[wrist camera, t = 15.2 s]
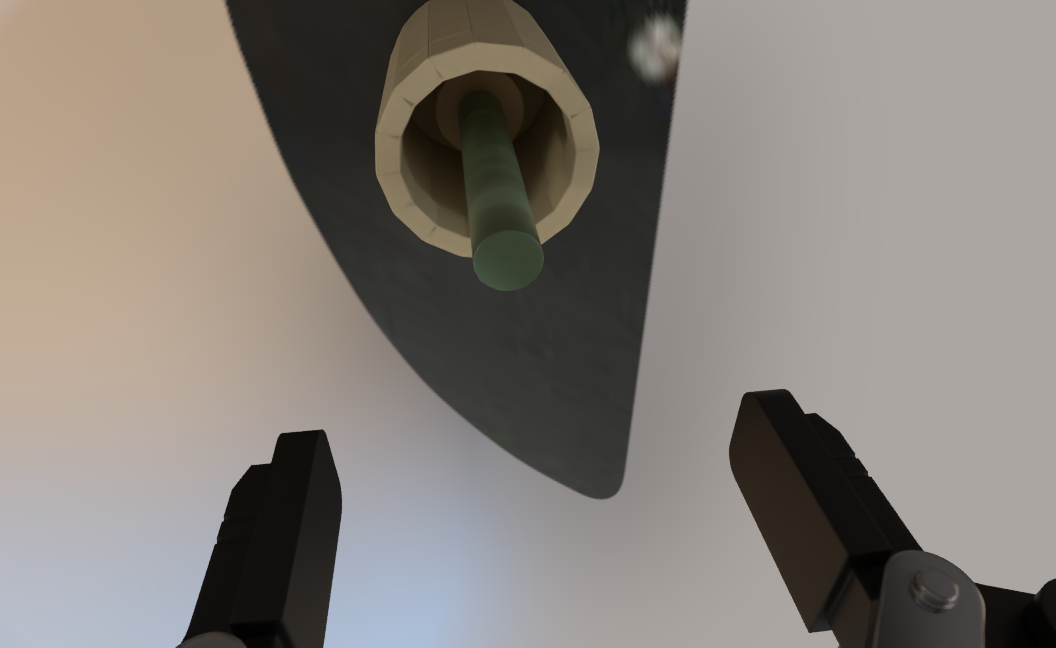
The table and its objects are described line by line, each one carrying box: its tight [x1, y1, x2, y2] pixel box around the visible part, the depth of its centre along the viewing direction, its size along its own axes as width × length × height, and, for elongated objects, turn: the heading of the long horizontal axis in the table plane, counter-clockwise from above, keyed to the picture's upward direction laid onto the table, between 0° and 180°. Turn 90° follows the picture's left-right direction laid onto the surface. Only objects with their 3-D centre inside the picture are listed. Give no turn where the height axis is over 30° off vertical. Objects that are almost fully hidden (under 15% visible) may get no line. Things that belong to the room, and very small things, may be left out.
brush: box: [435, 70, 544, 291], centre depth 25 cm, size 4×4×18 cm
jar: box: [375, 0, 599, 257], centre depth 28 cm, size 8×8×11 cm
